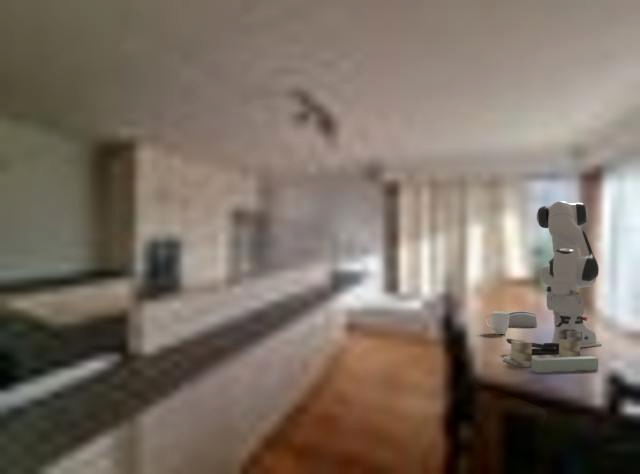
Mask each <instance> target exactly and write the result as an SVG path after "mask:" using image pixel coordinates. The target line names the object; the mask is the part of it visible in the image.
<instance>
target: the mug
mask: <svg viewBox="0 0 640 474" xmlns="http://www.w3.org/2000/svg"><path fill="white" fill-rule="evenodd" d="M509 313H510V312H509V311H502V310H495V311H491V313H490V314H488V315H487V316H486V318H485V319H486V325H487V327H488V328H490V329H491V330H493V331H494V334H495V335H497V334H505V335H507V331H508V329H509V327H510V326H509ZM489 317H491V326H490V325H489V324H488V321H487V320H488V318H489Z"/></svg>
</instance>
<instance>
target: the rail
mask: <svg viewBox="0 0 640 474" xmlns="http://www.w3.org/2000/svg"><path fill="white" fill-rule="evenodd" d="M571 370H587V371H598V370H599V357H596V356H592V355H589V356H587V355H586V356H582V355H580V357H555V358H532V366H531V371H532V372H535V373H537V372H539V373H553V372H552V371H563V372H572V371H571Z"/></svg>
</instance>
